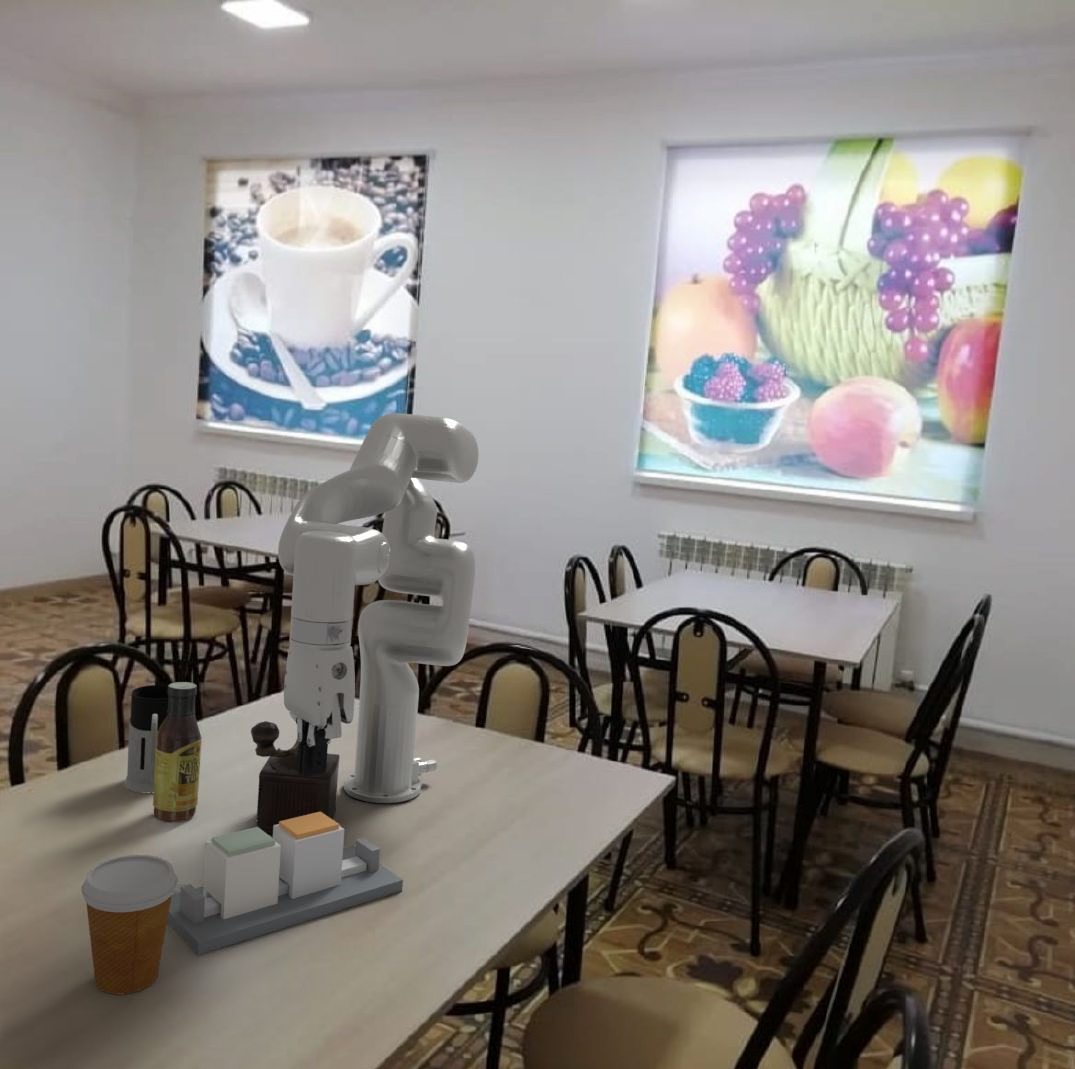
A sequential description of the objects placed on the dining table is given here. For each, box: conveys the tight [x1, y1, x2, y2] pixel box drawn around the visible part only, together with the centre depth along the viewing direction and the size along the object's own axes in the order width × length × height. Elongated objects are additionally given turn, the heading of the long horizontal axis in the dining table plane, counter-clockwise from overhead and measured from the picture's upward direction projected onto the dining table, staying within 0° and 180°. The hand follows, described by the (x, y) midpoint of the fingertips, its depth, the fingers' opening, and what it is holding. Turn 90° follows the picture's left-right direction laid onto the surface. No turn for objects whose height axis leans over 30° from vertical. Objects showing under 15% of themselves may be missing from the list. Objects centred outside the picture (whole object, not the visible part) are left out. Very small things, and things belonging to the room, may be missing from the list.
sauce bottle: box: [152, 681, 203, 823], centre depth 149 cm, size 6×6×20 cm
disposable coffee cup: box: [80, 854, 179, 995], centre depth 108 cm, size 10×10×12 cm
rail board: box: [167, 826, 404, 956], centre depth 128 cm, size 28×12×10 cm, turn 132°
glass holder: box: [123, 684, 169, 794], centre depth 158 cm, size 9×14×15 cm, turn 18°
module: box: [272, 812, 345, 899], centre depth 130 cm, size 7×6×8 cm
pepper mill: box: [250, 720, 340, 837], centre depth 147 cm, size 16×11×18 cm
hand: (311, 772), depth 128 cm, fingers closed
